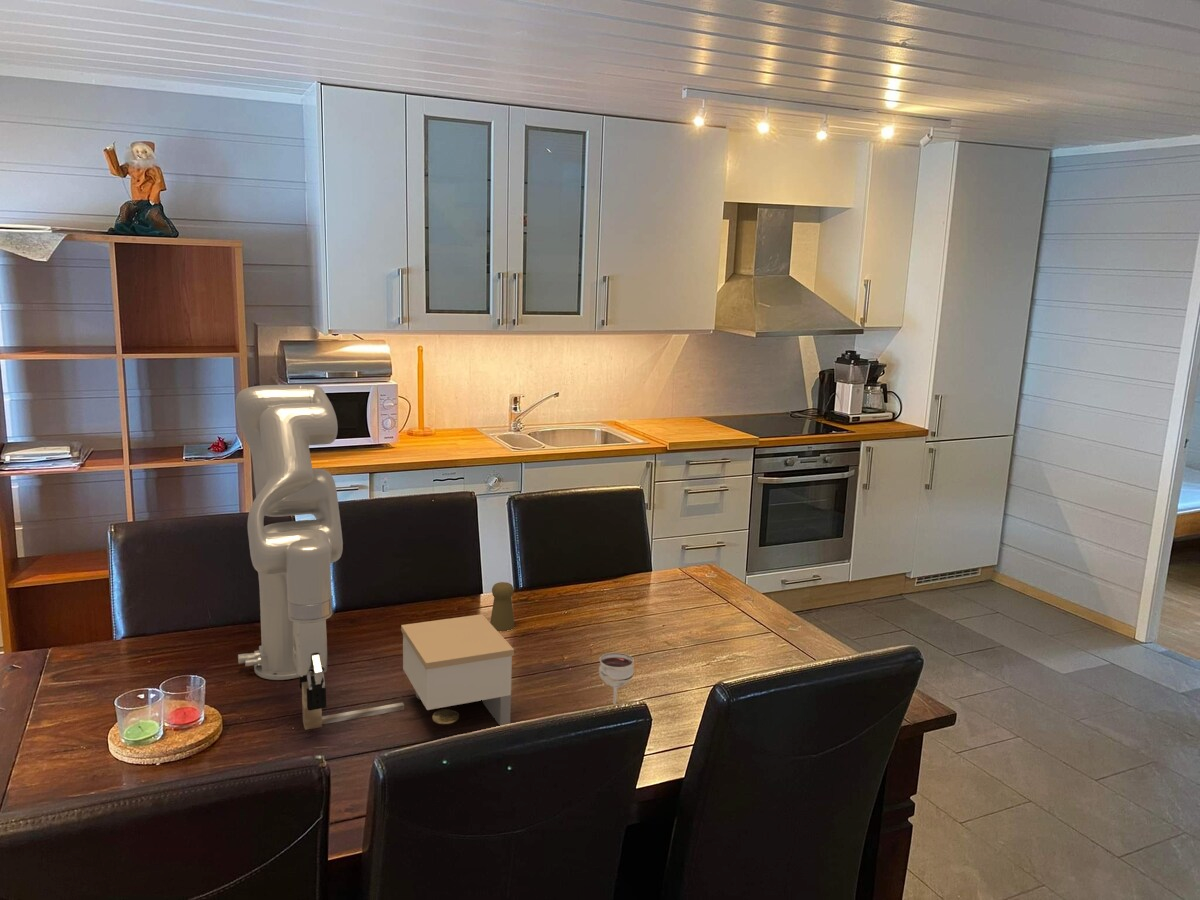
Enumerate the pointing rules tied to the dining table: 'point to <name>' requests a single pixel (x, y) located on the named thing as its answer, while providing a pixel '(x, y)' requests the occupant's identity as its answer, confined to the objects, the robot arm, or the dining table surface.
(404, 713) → the dining table surface
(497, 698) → the low cabinet
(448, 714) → the brass disc
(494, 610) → the olive pawn
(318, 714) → the wooden mallet
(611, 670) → the wineglass
